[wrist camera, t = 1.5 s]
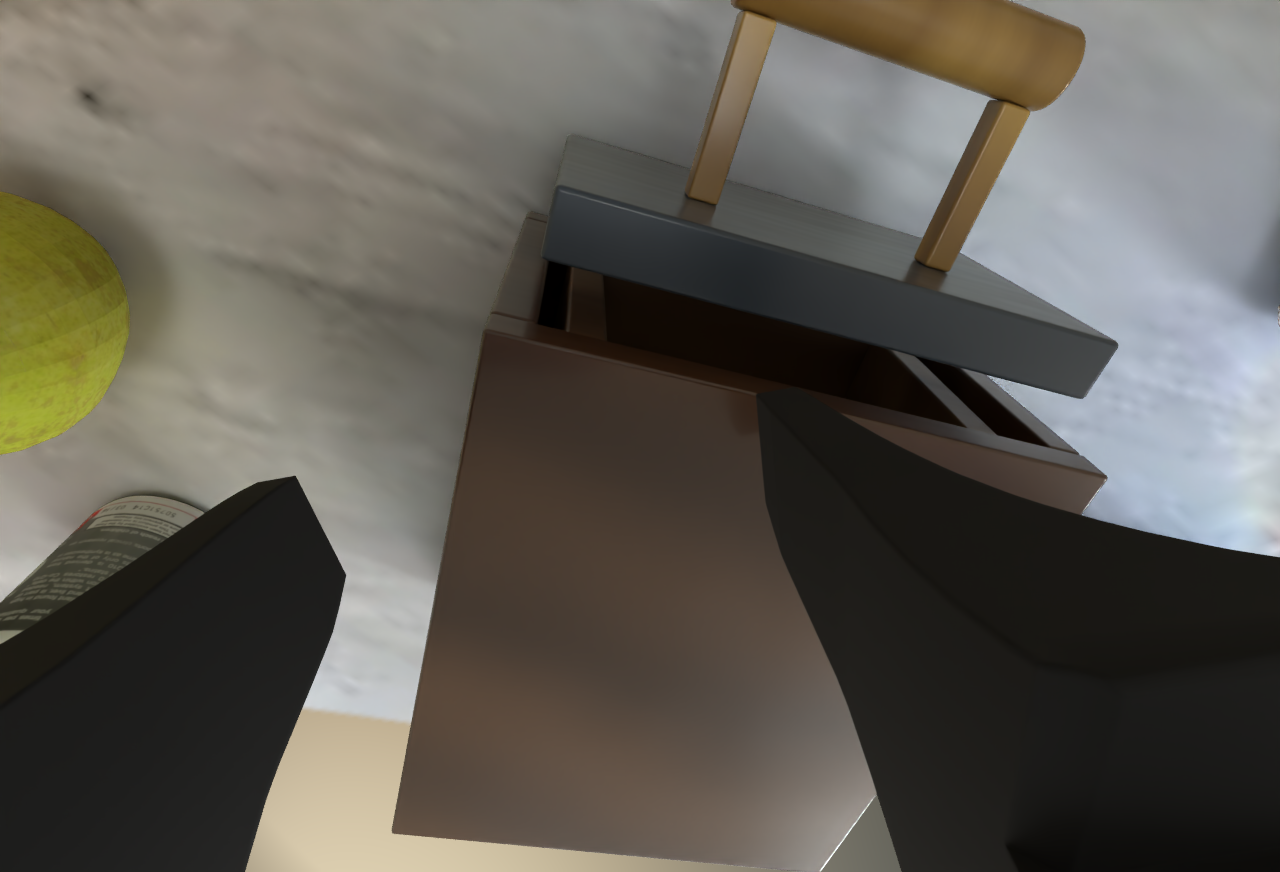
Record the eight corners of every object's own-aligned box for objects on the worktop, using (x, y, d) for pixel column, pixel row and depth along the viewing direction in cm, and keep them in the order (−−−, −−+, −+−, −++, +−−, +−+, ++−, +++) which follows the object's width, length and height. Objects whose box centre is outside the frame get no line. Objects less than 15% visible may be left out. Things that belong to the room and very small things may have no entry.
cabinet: (527, 209, 18) (483, 328, 10) (918, 316, 20) (1110, 477, 13) (451, 591, 24) (390, 834, 17) (754, 640, 26) (819, 874, 19)
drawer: (617, -97, 14) (635, -196, 8) (1043, 61, 16) (1304, 71, 10) (480, 538, 22) (441, 719, 16) (777, 591, 24) (838, 769, 18)
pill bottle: (73, 483, 21) (-197, 715, 14) (236, 498, 22) (60, 726, 14) (107, 598, 23) (-109, 847, 16) (253, 608, 24) (108, 852, 17)
